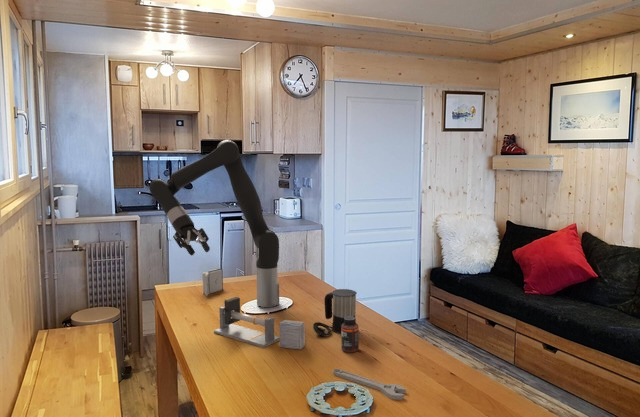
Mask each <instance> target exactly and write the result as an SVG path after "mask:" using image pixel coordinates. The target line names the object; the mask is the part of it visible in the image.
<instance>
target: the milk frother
mask: <svg viewBox="0 0 640 417" xmlns="http://www.w3.org/2000/svg"><path fill="white" fill-rule="evenodd" d="M324 296H325V297H324V299H323V300H324V317H325V319H326V320H330V319H332V325H331V326H330V325H327V324H325V323H323V322H319V321H318V322H317V321H316V322H314V323H313V324H312V327H313V328H312V329H313V330H314V332H315V333H316V334H318V335H319V336H322V337H323V336H330V335H331V334H332V332H334V333H337V334H341V326H342V324H343V323H344V318H345V317H348V316H352V317H355V318H356V306H357V305H356V304H357V303H356V301H357V300H356V299H357V291H356V290H352V289H348V288H345V289H344V288H343V289H342V288H339V289H335V290H333V291H332V292H329V293H327V294H326V295H324Z"/></svg>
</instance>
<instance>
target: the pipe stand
mask: <svg viewBox="0 0 640 417" xmlns="http://www.w3.org/2000/svg"><path fill="white" fill-rule="evenodd" d="M231 318H235V319H239V320H240V321H243V322H246V323H250V324H253V325H256V326H257V325H259V326H261V327H264V332H263V331H259V330H256V329H252V328H250V327H249V328H248V327H245V326H242V325H238V324H234V323H232V324H230V325H228V324H225V305H224V306H220V307H219V328H216V329H214V330H213V333H214V334H216V335H220V336H223V337H227V338H230V339H234V340H237V341H239V342H243V343H245V344H246V343H247V344H250V345H253V346H256V347H259V348H263V349H264V348H266V347H268V346H270V345H272V344H274V343H276V342H280V336H276V335H275V317H272V316H269V317H268V318H262V317H259V316H257V315H255V316H254V315H250V314H245V313H242V312H240V313H239V312H235V311H234V310H233V311H231Z"/></svg>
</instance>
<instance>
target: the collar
mask: <svg viewBox="0 0 640 417" xmlns="http://www.w3.org/2000/svg"><path fill="white" fill-rule="evenodd" d="M224 306H225V324H228V325H230V324H234V323H237V322H240V321H241V320H239V319H235V318H232V317H231V311H235V312H239V313H241V297H238V296H235V297H232V298H229V299H225V300H224Z"/></svg>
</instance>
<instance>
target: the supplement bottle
mask: <svg viewBox="0 0 640 417" xmlns="http://www.w3.org/2000/svg"><path fill="white" fill-rule="evenodd" d="M340 335H341V336H340V337H341V340H340V341H341V343H340V344H341V350H342V351H343V352H345V353H356V352H357V351H359V349H360V348H359V345H360V344H359V339H360V338H359V337H360V335H359V323H357V321H356V316H355V317H352V316H348V317H345V318H344V323H343V324H342V326H341V333H340Z"/></svg>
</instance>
